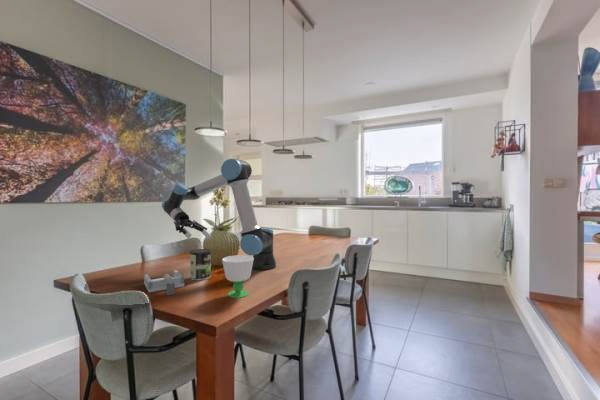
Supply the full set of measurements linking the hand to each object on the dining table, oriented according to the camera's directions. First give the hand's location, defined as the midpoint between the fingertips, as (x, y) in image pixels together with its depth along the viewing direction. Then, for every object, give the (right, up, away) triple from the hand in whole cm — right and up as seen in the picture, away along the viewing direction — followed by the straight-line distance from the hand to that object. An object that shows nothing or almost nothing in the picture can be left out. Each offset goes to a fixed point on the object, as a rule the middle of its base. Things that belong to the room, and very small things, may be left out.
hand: (200, 237), depth 160 cm
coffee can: (+2, -21, -6) cm, 22 cm away
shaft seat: (-9, -21, -22) cm, 32 cm away
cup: (+27, -21, -31) cm, 46 cm away
